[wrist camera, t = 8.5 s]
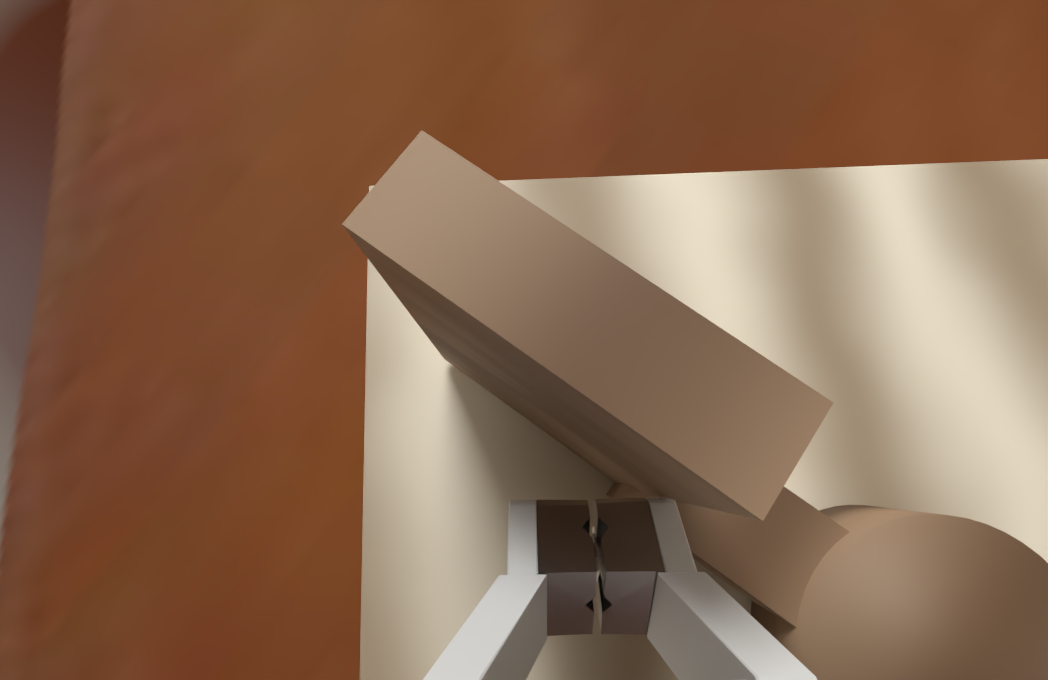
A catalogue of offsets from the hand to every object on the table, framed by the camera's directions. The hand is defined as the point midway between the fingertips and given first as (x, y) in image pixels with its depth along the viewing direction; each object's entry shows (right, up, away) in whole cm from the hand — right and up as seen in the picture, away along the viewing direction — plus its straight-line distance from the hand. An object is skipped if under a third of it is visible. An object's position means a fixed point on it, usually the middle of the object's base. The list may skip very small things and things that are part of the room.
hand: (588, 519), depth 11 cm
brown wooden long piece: (+6, -3, +4) cm, 7 cm away
